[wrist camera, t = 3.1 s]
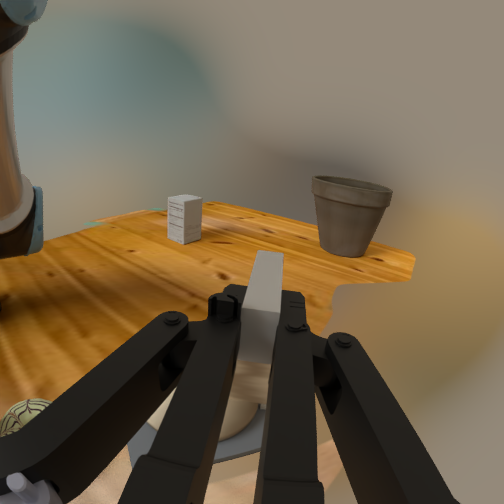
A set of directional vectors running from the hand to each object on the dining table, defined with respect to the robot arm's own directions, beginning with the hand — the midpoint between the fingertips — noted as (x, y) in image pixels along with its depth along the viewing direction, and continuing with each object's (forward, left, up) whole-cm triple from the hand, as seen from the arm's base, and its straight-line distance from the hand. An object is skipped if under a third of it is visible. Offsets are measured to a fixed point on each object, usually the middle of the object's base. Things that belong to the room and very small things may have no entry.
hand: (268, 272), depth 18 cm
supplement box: (-69, +9, -23) cm, 73 cm away
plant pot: (-53, +55, -22) cm, 80 cm away
